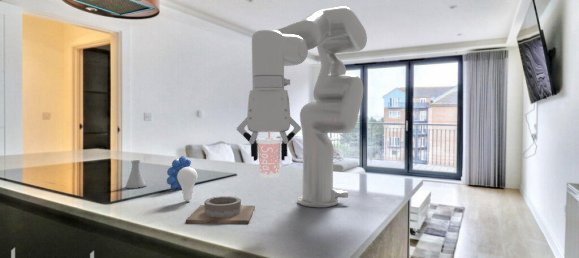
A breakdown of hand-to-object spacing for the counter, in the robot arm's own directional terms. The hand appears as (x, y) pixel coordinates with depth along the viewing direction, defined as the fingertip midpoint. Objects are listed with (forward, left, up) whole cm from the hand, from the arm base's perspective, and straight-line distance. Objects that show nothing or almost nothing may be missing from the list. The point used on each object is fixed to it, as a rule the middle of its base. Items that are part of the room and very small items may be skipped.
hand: (269, 158), depth 82 cm
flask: (+53, -45, -17) cm, 72 cm away
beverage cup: (0, 0, -4) cm, 4 cm away
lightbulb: (+27, -24, -17) cm, 40 cm away
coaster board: (+13, -10, -17) cm, 24 cm away
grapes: (+36, -42, -17) cm, 58 cm away
